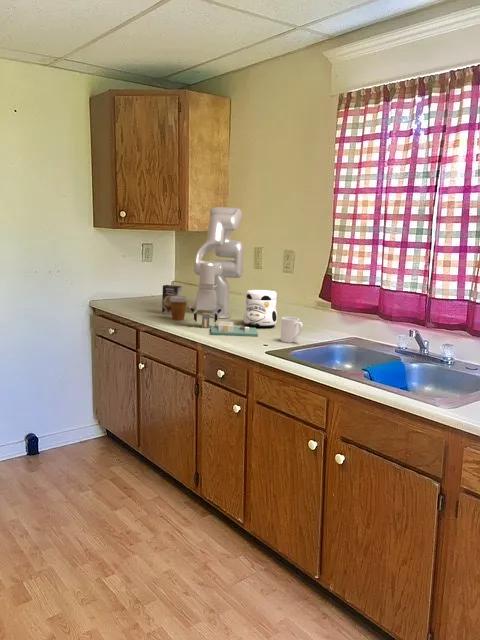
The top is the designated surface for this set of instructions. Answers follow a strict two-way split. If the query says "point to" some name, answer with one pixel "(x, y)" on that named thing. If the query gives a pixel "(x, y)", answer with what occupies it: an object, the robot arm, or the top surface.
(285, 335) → the mug
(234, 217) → the robot arm
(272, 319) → the milk container
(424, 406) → the top surface
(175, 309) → the disposable coffee cup
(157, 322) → the top surface
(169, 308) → the coffee box
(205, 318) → the plug
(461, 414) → the top surface
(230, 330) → the board
